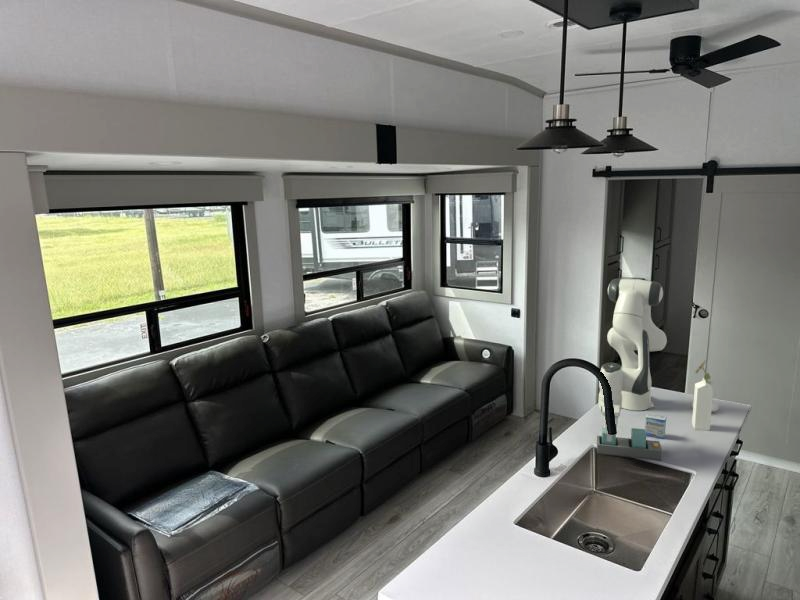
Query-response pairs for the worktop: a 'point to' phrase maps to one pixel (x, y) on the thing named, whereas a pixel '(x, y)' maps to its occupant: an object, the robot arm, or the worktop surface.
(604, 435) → the teal rectangular block
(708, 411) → the milk
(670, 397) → the worktop surface
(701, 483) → the worktop surface
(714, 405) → the flower in vase
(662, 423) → the medicine box
